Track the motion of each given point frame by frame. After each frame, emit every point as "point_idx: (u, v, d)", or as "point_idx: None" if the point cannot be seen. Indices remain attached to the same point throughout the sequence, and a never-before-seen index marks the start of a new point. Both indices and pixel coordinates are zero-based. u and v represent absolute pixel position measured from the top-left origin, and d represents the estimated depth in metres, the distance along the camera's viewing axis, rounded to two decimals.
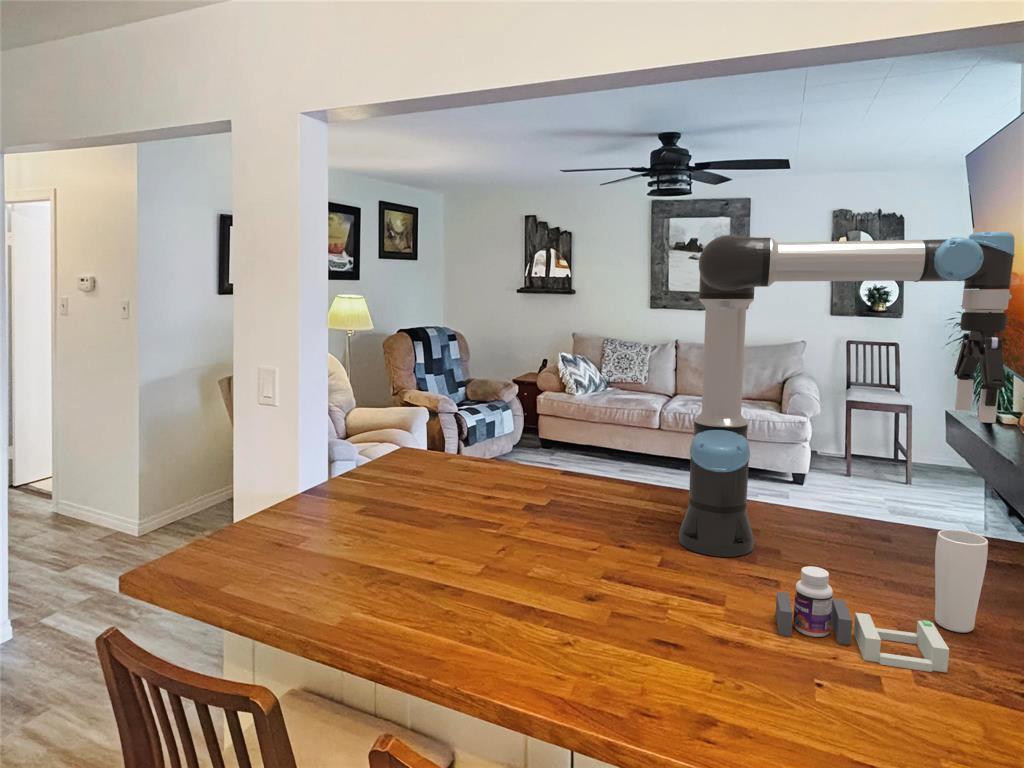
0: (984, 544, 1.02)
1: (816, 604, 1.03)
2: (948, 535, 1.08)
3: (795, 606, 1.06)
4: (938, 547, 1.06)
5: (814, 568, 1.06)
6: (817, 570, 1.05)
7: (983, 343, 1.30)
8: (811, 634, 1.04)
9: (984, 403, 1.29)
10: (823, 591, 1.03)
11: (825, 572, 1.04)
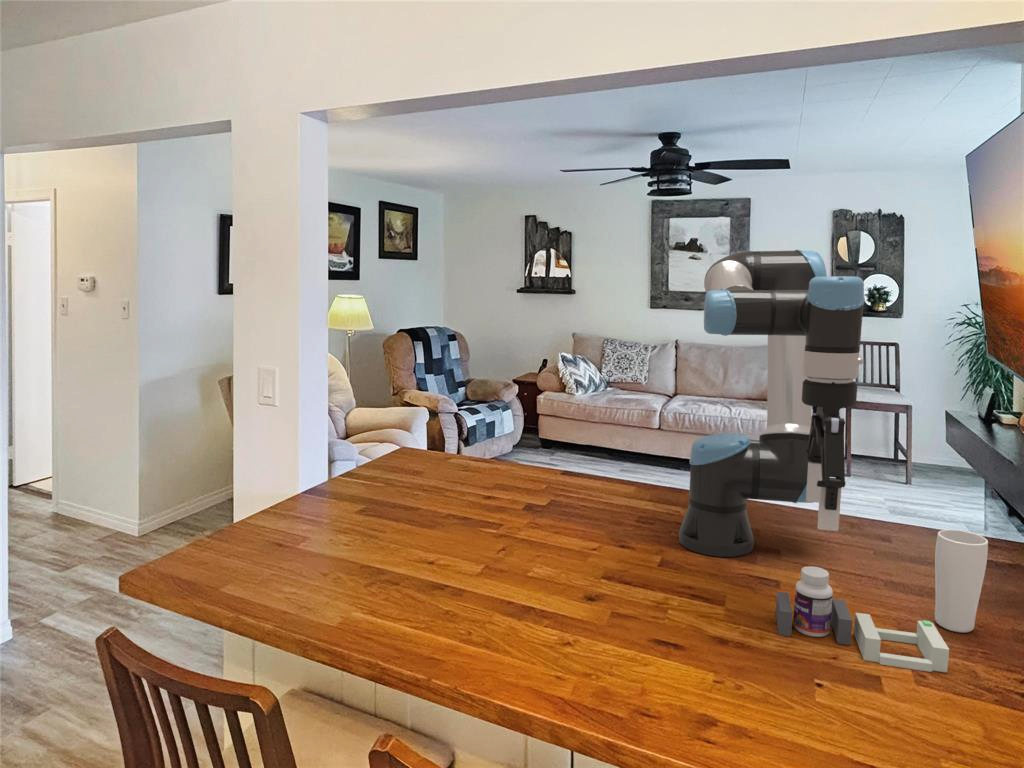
0: (984, 544, 1.02)
1: (816, 604, 1.03)
2: (948, 535, 1.08)
3: (795, 606, 1.06)
4: (938, 547, 1.06)
5: (814, 568, 1.06)
6: (817, 570, 1.05)
7: (824, 423, 0.98)
8: (811, 634, 1.04)
9: (823, 505, 0.96)
10: (823, 591, 1.03)
11: (825, 572, 1.04)
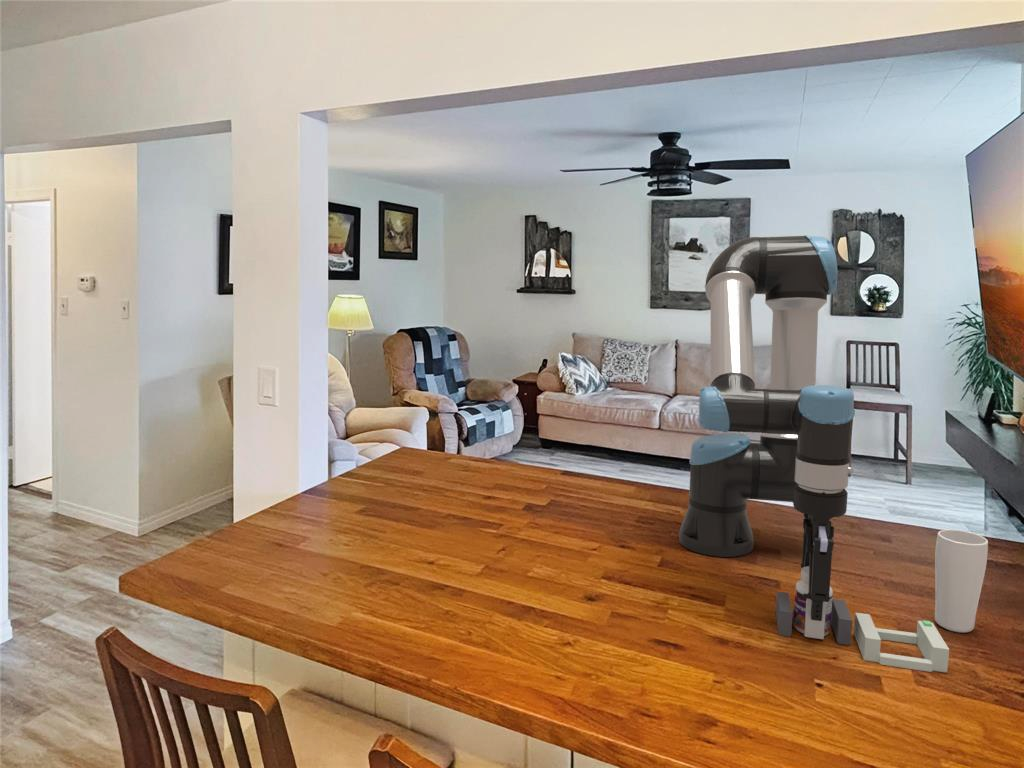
0: (984, 544, 1.02)
1: None
2: (948, 535, 1.08)
3: (795, 606, 1.06)
4: (938, 547, 1.06)
5: None
6: None
7: (814, 534, 1.01)
8: None
9: (810, 614, 1.03)
10: None
11: None
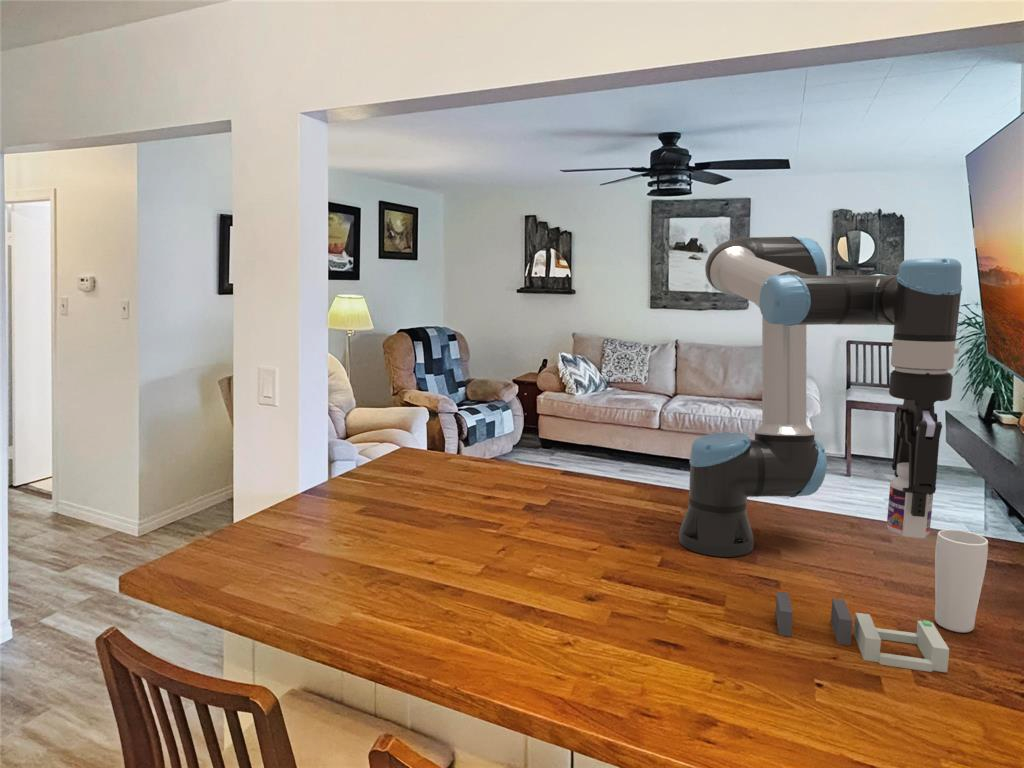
0: (984, 544, 1.02)
1: None
2: (948, 535, 1.08)
3: (890, 505, 0.96)
4: (938, 547, 1.06)
5: None
6: None
7: (917, 420, 0.91)
8: None
9: (910, 511, 0.93)
10: None
11: None
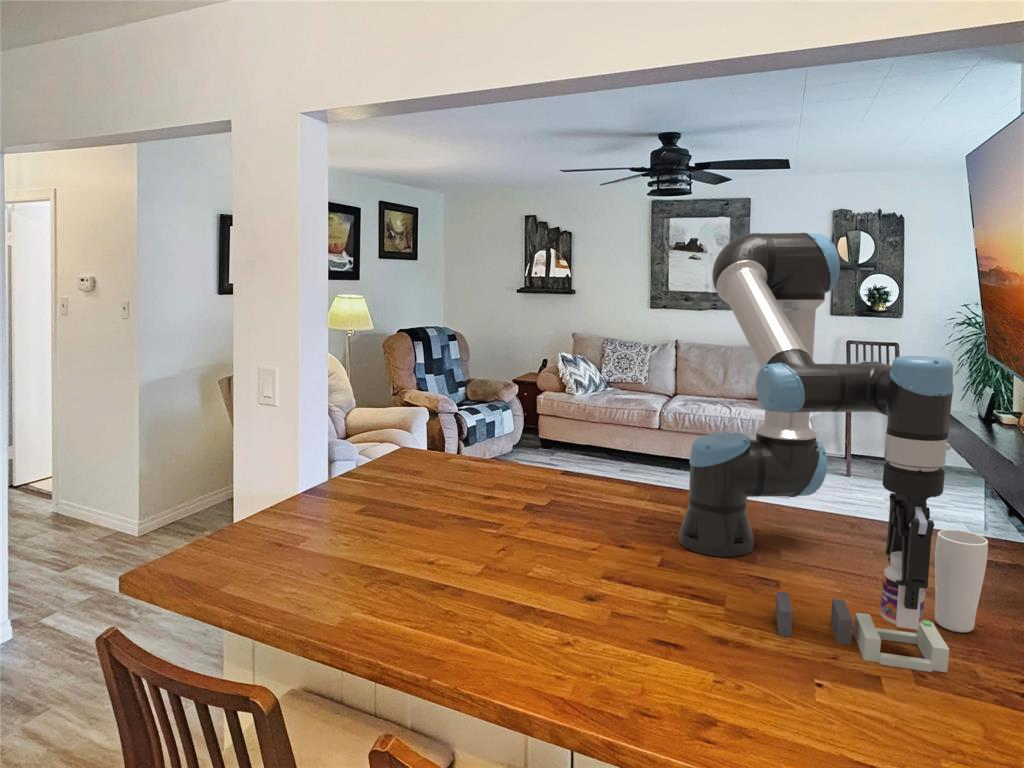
0: (984, 544, 1.02)
1: None
2: (948, 535, 1.08)
3: (884, 594, 0.98)
4: (938, 547, 1.06)
5: None
6: None
7: (910, 515, 0.93)
8: None
9: (903, 603, 0.95)
10: None
11: None
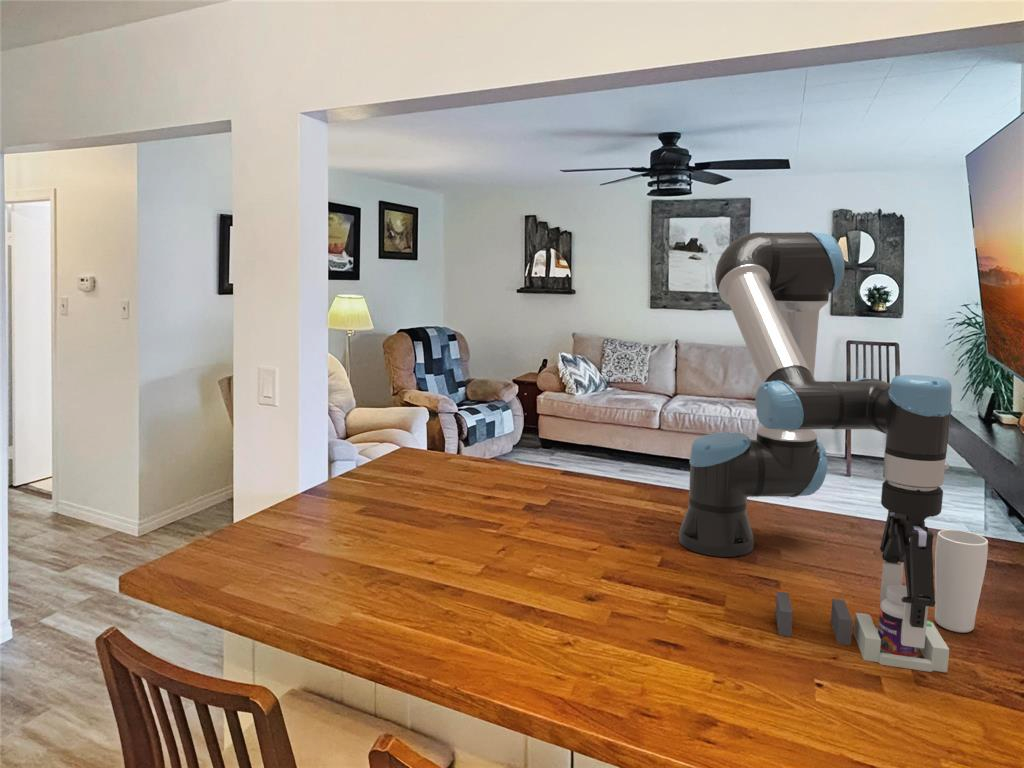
0: (984, 544, 1.02)
1: None
2: (948, 535, 1.08)
3: (880, 627, 0.99)
4: (938, 547, 1.06)
5: (900, 587, 0.99)
6: (904, 588, 0.99)
7: (909, 533, 0.93)
8: None
9: (908, 621, 0.92)
10: None
11: None
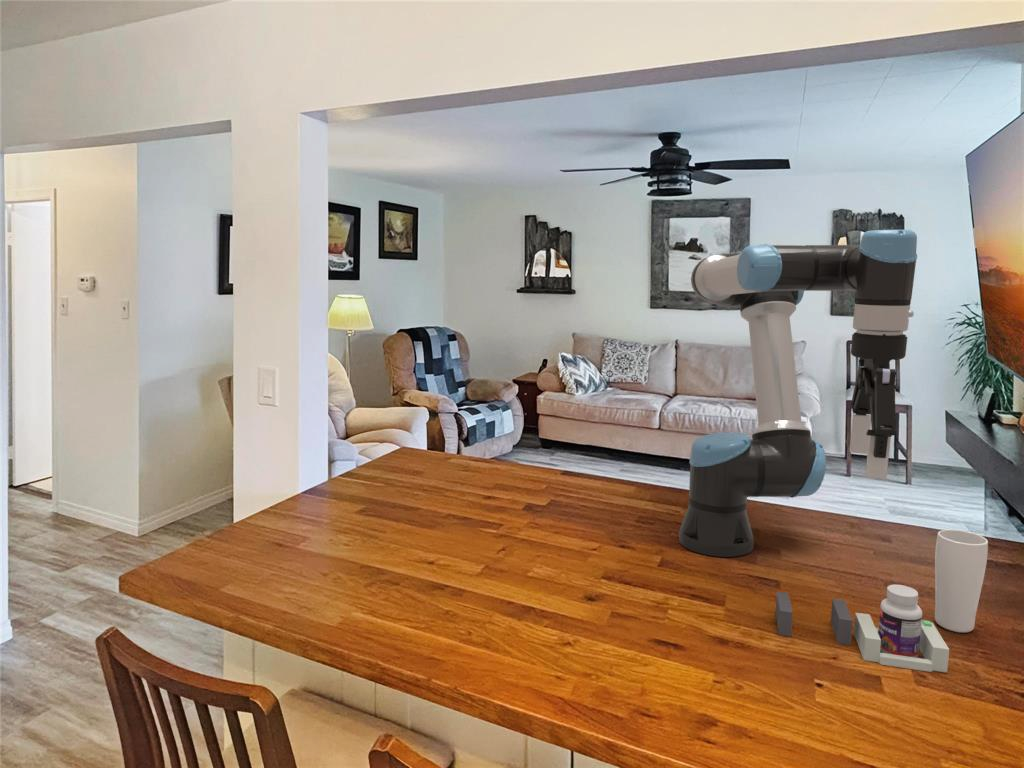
0: (984, 544, 1.02)
1: (905, 625, 0.96)
2: (948, 535, 1.08)
3: (880, 627, 0.99)
4: (938, 547, 1.06)
5: (900, 587, 0.99)
6: (905, 588, 0.99)
7: (874, 375, 1.01)
8: None
9: (872, 453, 1.00)
10: (912, 611, 0.96)
11: (914, 591, 0.98)
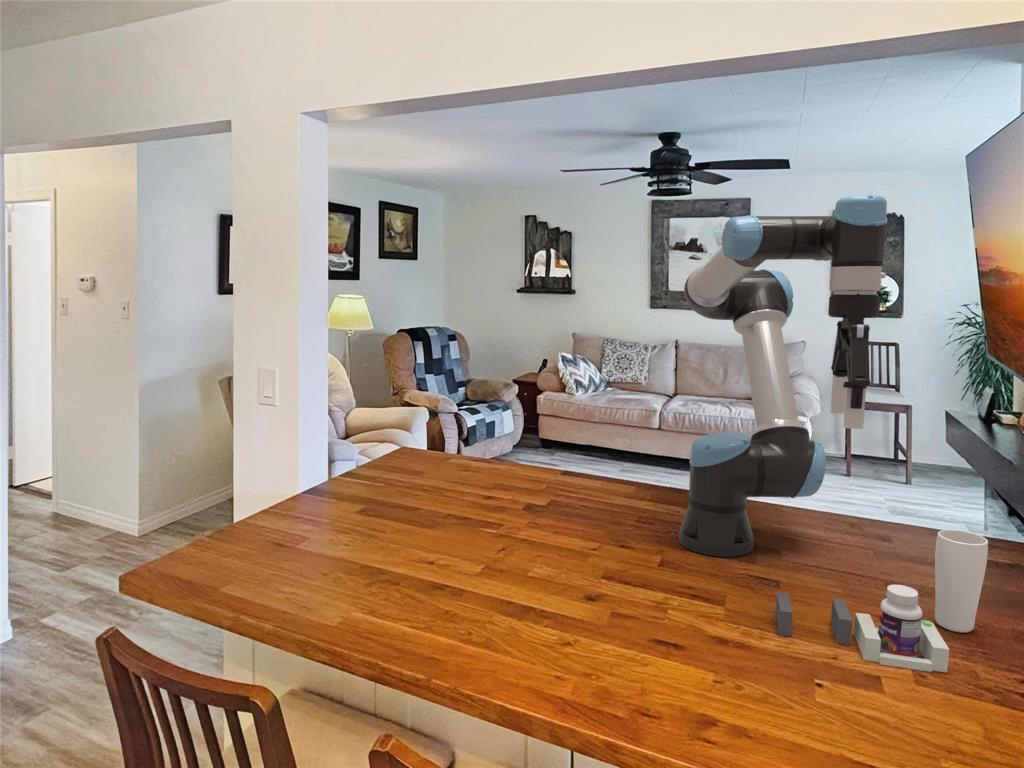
0: (984, 544, 1.02)
1: (905, 625, 0.96)
2: (948, 535, 1.08)
3: (880, 627, 0.99)
4: (938, 547, 1.06)
5: (900, 587, 0.99)
6: (905, 588, 0.99)
7: (850, 332, 1.07)
8: None
9: (849, 405, 1.05)
10: (912, 611, 0.96)
11: (914, 591, 0.98)
